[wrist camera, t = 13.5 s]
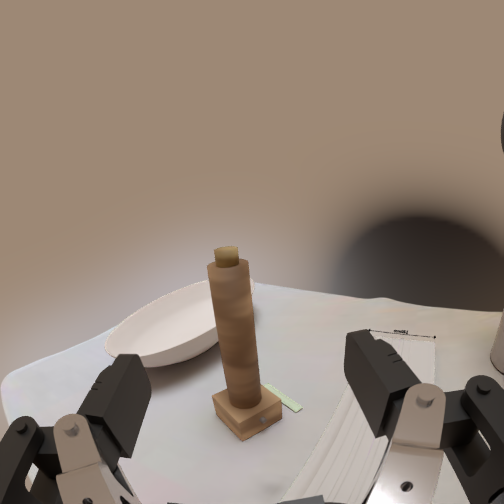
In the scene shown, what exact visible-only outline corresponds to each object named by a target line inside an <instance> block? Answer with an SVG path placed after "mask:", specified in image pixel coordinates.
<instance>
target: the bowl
mask: <svg viewBox="0 0 504 504" xmlns="http://www.w3.org/2000/svg"><path fill="white" fill-rule="evenodd" d="M250 285H251V296H252V294H253V291H254V282H253V280H252V279H250ZM217 342H218V335H217V329H216V323H215V317H214V310H213V304H212V298H211V291H210V284H209V280H205V281H202V282H199V283H196V284H192V285H190V286H187V287H184V288H182V289H179V290H177V291H174V292H172V293H170V294H168V295H165V296H163V297H161V298H159V299H157V300H155V301H153V302H151V303H149V304H148V305H146V306H144V307H142V308H141V309H139V310H138V311H136V312H135V313H133V314H132V315H130V316H129V317H127V318H126V319H125V320H123V321H122V322H121V323H120V324H119V325H118V326H117V327H116V328H115V329H114V330H113V331H112V332H111V333H110V334H109V336H108V338H107V339H106V342H105V350H106V352H107V353H108V354H109V355H110V356H112V357H114V358H115V359H116V358H117V356H118V355H119V354H138V355H139V357H140V359H141V361H142V364H143V366H144V367H160V366H166V365H170V364H174V363H179V362H183V361H187V360H189V359H192V358H194V357H196V356H198V355H200V354H202V353H203V352H205V351H207V350H208V349H209V348H211V347H212V346H213V345H214V344H216V343H217Z"/></svg>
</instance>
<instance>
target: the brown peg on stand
mask: <svg viewBox="0 0 504 504" xmlns="http://www.w3.org/2000/svg"><path fill="white" fill-rule="evenodd" d="M214 254H215V262H212V263H210V264H209V265H208V266H207V270H208V277H209V284H210V291H211V298H212V304H213V310H214V317H215V323H216V329H217V335H218V341H219V346H220V352H221V358H222V363H223V369H224V374H225V379H226V384H227V389H225V390H223V391H221V392H219V393H217V394H214V395H212V399H213V403H214V407H215V411H216V414H217V415H218V417H219V418H220V419H221V420H222V421H223V422H224V423H225V424H226V425H227V426H228V427H229V428H230V429H231V430H232V431H233V432H234V433H235V434H236V435H237V436H238V437H239V438H240V439H241V440H242V441H244V440H246V439H248V438H250V437H251V436H253V435H255V434H257V433H258V432H260V431H262V430H263V429H265V428H267V427H269V426H270V425H272V424H273V423H275V422H277V421H278V420H280V419H282V403H281V399H280V398H279V397H278V396H276V395H275V394H273V393H272V392H271V391H269V390H268V389H267V388H265V387H264V386H263V385H261V384H260V375H259V365H258V356H257V346H256V336H255V326H254V316H253V306H252V296H251V285H250V275H249V265H248V261H247V260H244V259H239V256H238V248H237V247H234V246H228V247H221V248H217V249H215V250H214Z"/></svg>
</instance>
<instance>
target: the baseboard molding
mask: <svg viewBox="0 0 504 504" xmlns="http://www.w3.org/2000/svg"><path fill="white" fill-rule="evenodd" d="M368 331H369V332H370V331H372V330H370V329H369V330H368ZM396 331H397V330H394V332H396ZM398 331H399V330H398ZM402 331H403V330H402ZM402 331H399V332H400V333H405V330H404V332H402ZM377 332H380V331H377ZM407 332H408V331H407ZM385 333H389V332H385ZM394 334H398V333H394ZM407 334H408V333H406V334H403V335H407ZM413 336H417V335H413ZM423 337H428V336H423ZM435 338H436V337H435V335H434V339H435ZM374 339H375V340H377V339H382V340H384V341H385V342H387V343H389V344H391V345H392V347H393V348H394V349H395V350H396V351H397V354H399V355H400V356H401V357H402V359H403V361H405V362H406V364H407V365H408V366H409V367H410V369H411V370H412V371H413V372H414V374H415V375H416V376H417V377H418V379H419V380H420V381H421V382H422V383H429V384H433V385H434V377H435V342H431V341H420V340H405V339H396V338H392V337H390V338H387V337H383V336H377V337H375V338H374ZM387 443H388V439H387V437H386V435H385V436H382V437H379V438H376V439H375V436H374V434H373V432H372V430H371V428H370V426H369V424H368V422H367V420H366V418H365V416H364V414H363V412H362V410H361V407H360V405H359V403H358V401H357V399H356V397H355V395H354V393H353V391H352V389H351V387H350V385H349V383H348V385H347V387H346V389H345V391H344V394H343V396H342V398H341V400H340V402H339V404H338V406H337V408H336V410H335V412H334V414H333V416H332V418H331V420H330V421H329V423H328V425H327V427H326V429H325V431H324V433H323V434H322V436H321V438H320V440H319V442H318V443H317V445H316V447H315V448H314V450H313V452H312V453H311V455H310V457H309V458H308V460H307V462H306V463H305V465H304V466H303V468H302V470H301V471H300V473H299V474H298V476H297V477H296V479H295V480H294V482H293V483H292V485H291V486H290V488H289V489H288V491H287V492H286V493H285V495H284V496H283V498H282V499H281V500H280V502H283V501H289V500H296V499H302V498H308V497H313V496H318V495H323V498H324V502H337V503H345V504H361V502H362V500H363V498H364V496H365V494H366V493H367V491H368V489H369V487H370V485H371V482H372V480H373V478H374V476H375V473H376V471H377V469H378V466H379V464H380V461H381V459H382V456H383V454H384V451H385V448H386V446H387ZM280 502H279V503H280Z"/></svg>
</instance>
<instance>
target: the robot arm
mask: <svg viewBox="0 0 504 504" xmlns="http://www.w3.org/2000/svg"><path fill="white" fill-rule="evenodd" d="M501 143H502V149H503V152H504V114H503V119H502V125H501ZM491 360H492V362H493V364H494V366H495V367H496V368H497V369H498V370H499V371H501V372H502V373H504V310H503V314H502V318H501V321H500V325H499V328H498V332H497V335H496V338H495V341H494V344H493V348H492V351H491ZM344 372H345V376H346V379H347V381H348V383H349V385H350V387H351V389H352V391H353V393H354V395H355V397H356V399H357V401H358V403H359V405H360V407H361V410H362V412H363V414H364V416H365V418H366V420H367V422H368V424H369V426H370V428H371V430H372V432H373V434H374V436H375V439H376V438H379V437H382V436H385V435H386V437H387V439H388V443H387V446H386V448H385V451H384V454H383V456H382V459H381V461H380V464H379V466H378V469H377V471H376V473H375V476H374V478H373V480H372V482H371V485H370V487H369V489H368V491H367V493H366V494H365V496H364V498H363V500H362V502H361V504H432V500H433V497H434V493H435V490H436V486H437V482H438V478H439V474H440V470H441V465H442V460H443V454H444V452H445V454H446V456H447V458H448V460H449V462H450V463H451V465H452V467H453V469H454V471H455V473H456V475H457V477H458V479H459V481H460V483H461V485H462V487H463V489H464V491H465V493H466V495H467V498H468V500H469V502H470V504H504V390H503V389H502V387H501V386H500V385H499V384H498V383H497V382H496V381H495V380H494V379H492V378H491V377H488V376H484V375H478V376H475V377H472V378H471V379H470V380H469V381H468V382H467V384H466V386H465V389H464V390H458V391H452V392H443V390H442V389H440V388H439V387H438V386H436V385H433V384H429V383H422V382H421V381H420V380H419V379H418V377H417V376H416V375H415V374H414V372H413V371H412V370H411V369H410V367H409V366H408V365H407V364H406V362H405V361H403V359H402V357H401V356H400V355H399V354H397V351H396V350H395V349H394V348H393V347H392V345H391V344H389V343H387V342H385V341H384V340H382V339H377V340H375V339H374V337H373V336H372V335H371V334H370V332H369V331H368V330H367V329H364V330H360V331H355V332H350V333H347V336H346V346H345V358H344ZM150 398H151V385H150V382H149V379H148V377H147V374H146V372H145V369H144V366H143V364H142V361H141V359H140V357H139V355H138V354H119V355H118V356H117V358H116V359H115V361H114V363H113V364H112V366H110V365H109V366H108V367H107V368H106V369H104V370H103V371H102V372H101V373H100V374H99V376H98V378H97V379H96V381H95V383H94V384H93V386H92V388H91V390H90V391H89V393H88V394H87V396H86V398H85V399H84V401H83V403H82V405H81V406H80V408H79V410H78V412H77V413H76V414H69V415H66V416H63V417H62V418H60V419H59V420H58V421H57V422H56V424H55V426H53V427H39V425H38V424H37V423H36V421H35V420H34V419H33V418H32V417H29V416H22V417H19V418H17V419H16V420H15V421H13V422H12V424H11V425H10V427H9V429H8V430H7V432H6V433H5V435H4V437H3V438H2V440H1V442H0V504H142V503H141V502H140V501H139V499H138V497H137V496H136V494H135V492H134V491H133V489H132V487H131V485H130V483H129V482H128V480H127V478H126V476H125V474H124V472H123V470H122V468H121V466H120V465H119V464H118V460H119V457H124V458H131V457H132V454H133V450H134V447H135V444H136V441H137V438H138V434H139V431H140V428H141V425H142V422H143V419H144V416H145V413H146V410H147V407H148V404H149V401H150ZM479 430H480V432H481V433H482V435H483V436H484V438H485V439H486V441H487V442H488V444H489V445H490V449H491V451H490V449H489V448H488V446H487V445H486V443H485V442H484V440H483V439H482V437H481V436H480V434H479V433H478V431H479ZM32 463H34V465H35V466H36V467H37V468H38V469H39V470H38V472H37V475H36V477H35V480H34V482H33V485H32V487H31V490H30V492H28V491H27V489H26V487H25V479H26V476H27V474H28V472H29V469H30V467H31V465H32ZM167 504H177V503H168V502H167ZM277 504H345V503H337V502H324V498H323V495H318V496H313V497H308V498H302V499H296V500H289V501H283V502H280V503H277Z"/></svg>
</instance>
